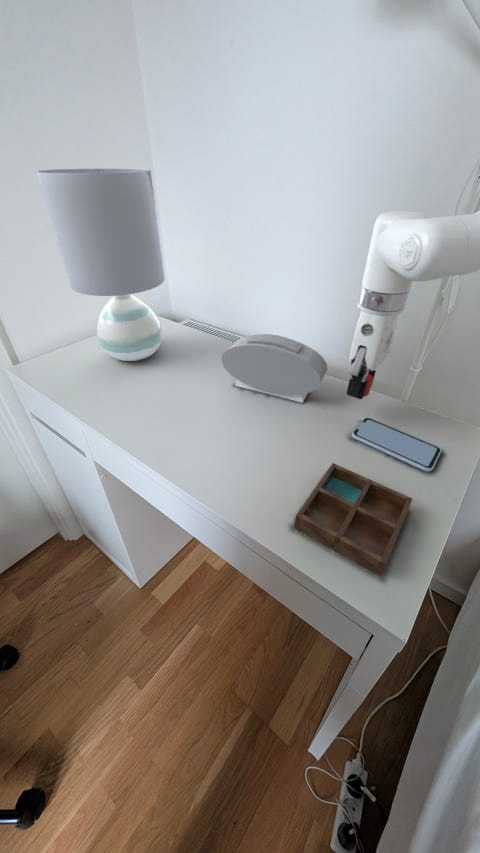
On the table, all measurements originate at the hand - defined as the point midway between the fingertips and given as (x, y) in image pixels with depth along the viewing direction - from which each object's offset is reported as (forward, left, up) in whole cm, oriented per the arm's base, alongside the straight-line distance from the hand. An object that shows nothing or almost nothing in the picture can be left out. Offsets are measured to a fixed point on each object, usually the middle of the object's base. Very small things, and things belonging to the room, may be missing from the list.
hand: (359, 390), depth 68 cm
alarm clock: (+19, +1, -6) cm, 20 cm away
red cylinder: (0, 0, 0) cm, 0 cm away
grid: (-10, +25, -6) cm, 28 cm away
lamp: (+59, +8, -6) cm, 60 cm away
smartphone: (-10, +4, -6) cm, 13 cm away
